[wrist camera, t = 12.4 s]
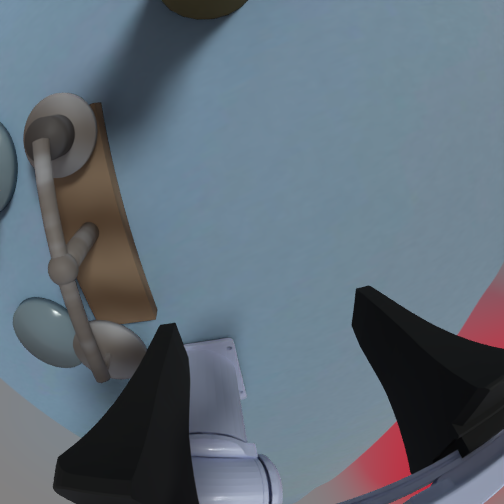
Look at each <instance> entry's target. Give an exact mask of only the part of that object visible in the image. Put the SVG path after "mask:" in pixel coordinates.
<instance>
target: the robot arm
mask: <svg viewBox="0 0 504 504" xmlns="http://www.w3.org/2000/svg"><path fill="white" fill-rule="evenodd" d="M352 328H353V330H354V333H355V335H356V338H357V340H358V342H359V345H360V347H361V349H362V350H363V352H364V354H365V356H366V357H367V359H368V361H369V363H370V364H371V366H372V368H373V370H374V371H375V373H376V375H377V377H378V378H379V380H380V382H381V384H382V386H383V388H384V390H385V392H386V394H387V396H388V399H389V401H390V404H391V406H392V409H393V411H394V414H395V417H396V420H397V423H398V425H399V428H400V432H401V435H402V439H403V442H404V445H405V449H406V454H407V457H408V462H409V467H410V472H411V474H412V475H410V476H408V477H405V478H403V479H401V480H399V481H397V482H394V483H392V484H390V485H387V486H385V487H382V488H380V489H377V490H375V491H372V492H370V493H367V494H364V495H362V496H359V497H356V498H353V499H350V500H347V501H344V502H341V503H337V504H389V503H391V502H394V501H396V500H398V499H400V498H402V497H405V496H407V495H409V494H411V493H413V492H415V491H417V490H419V489H421V488H423V487H425V486H427V485H428V484H430V483H432V482H433V483H432V485H431V487H429V488H427V489H426V490H424V491H422V492H420V493H418V494H416V495H415V496H413V497H411V498H410V499H409V500H408V501H406V502H405V503H403V504H483V503H484V502H485V501H487V500H488V499H489V498H491V497H492V496H493V495H494V494H495V493H496V492H497V491H499V490H500V489H501V488H502V487H503V486H504V349H502V348H497V347H492V346H488V345H484V344H480V343H477V342H474V341H471V340H468V339H465V338H462V337H460V336H457V335H455V334H452V333H450V332H448V331H446V330H443V329H441V328H439V327H437V326H435V325H433V324H431V323H429V322H427V321H426V320H424V319H422V318H420V317H418V316H417V315H415V314H413V313H412V312H410V311H408V310H407V309H405V308H404V307H402V306H401V305H399V304H397V303H396V302H394V301H393V300H391V299H390V298H388V297H387V296H385V295H384V294H382V293H381V292H379V291H377V290H376V289H374V288H373V287H371V286H365V287H361V288H357V289H356V294H355V303H354V311H353V319H352ZM229 346H231V347H229ZM246 397H247V395H246V391H245V387H244V383H243V378H242V374H241V370H240V366H239V362H238V357H237V353H236V349H235V344H234V340H233V339H232V338H223V339H217V340H211V341H204V342H197V343H191V344H183V342H182V339H181V336H180V334H179V331H178V328H177V326H176V323H171V324H163V325H160V326H159V328H158V330H157V332H156V334H155V336H154V338H153V340H152V342H151V344H150V346H149V348H148V349H147V351H146V353H145V355H144V357H143V359H142V360H141V362H140V364H139V366H138V368H137V369H136V371H135V373H134V374H133V376H132V378H131V379H130V381H129V382H128V384H127V386H126V387H125V389H124V390H123V391H122V393H121V394H120V396H119V397H118V398H117V400H116V401H115V402H114V404H113V405H112V406H111V407H110V409H109V410H108V411H107V412H106V414H105V415H104V416H103V417H102V418H101V419H100V420H99V422H98V423H97V424H96V425H95V426H94V427H93V428H92V429H91V430H90V431H89V432H88V433H87V434H86V435H84V436H83V437H82V438H81V439H80V440H79V441H78V442H77V443H75V444H74V445H73V446H72V447H70V448H69V449H68V450H67V451H65V452H64V453H63V454H62V455H60V456H59V457H58V459H57V464H56V469H55V476H54V483H53V489H54V491H55V492H56V493H57V494H59V495H61V496H63V497H64V498H66V499H68V500H70V501H72V502H74V503H76V504H282V500H283V489H282V482H281V478H280V475H279V472H278V470H277V468H276V466H275V465H274V464H273V463H272V462H271V460H270V459H269V458H268V457H267V456H265V455H263V454H257V449H256V444H255V443H247V437H246V431H245V425H244V419H243V413H242V407H241V401H240V400H242V399H245V398H246Z"/></svg>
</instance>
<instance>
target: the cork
mask: <svg viewBox="0 0 504 504" xmlns="http://www.w3.org/2000/svg"><path fill="white" fill-rule="evenodd" d="M247 1H248V0H162V2H163V3H164V4H165V5H166V6H167V7H168V8H169V9H170V10H171V11H173V12H175V13H177V14H179V15H181V16H183V17H188V18H193V19H214V18H218V17H222V16H225V15H229V14H230V13H232V12H234V11H236V10H237V9H239V8H241V7H242V6H243V5H244V4H245V3H246V2H247Z"/></svg>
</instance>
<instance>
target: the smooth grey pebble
mask: <svg viewBox="0 0 504 504" xmlns="http://www.w3.org/2000/svg"><path fill="white" fill-rule="evenodd" d="M13 327H14V330H15V333H16V335H17V337H18V339H19V340H20V342H21V343H22V345H23V346H24V347H25V348H26V349H27V350H28V351H29V352H30V353H31V354H32V355H34V356H35V357H36V358H38V359H40V360H41V361H43V362H45V363H47V364H50V365H52V366H56V367H61V368H71V367H75V366H78V365H79V364H81V363H82V362H81V361H80V360H79V358H78V357H77V355H76V354H75V351H74V348H73V339H74V336H75V334H76V333H75V330H74V327H73V325H72V322H71V319H70V317H69V314H68V311H67V309H66V308H64V307H63V306H61V305H59V304H58V303H56V302H54V301H51V300H48V299H45V298H40V297H32V298H28V299H26V300H24V301H23V302H22V303H21V304H20V305H19V307H18V308H17V310H16V311H15V313H14V316H13Z"/></svg>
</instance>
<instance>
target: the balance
mask: <svg viewBox="0 0 504 504" xmlns="http://www.w3.org/2000/svg"><path fill="white" fill-rule="evenodd" d="M23 139H24V148H25V152H26V155H27V158H28V160H29V162H30V163H31V165H32V166H33V167H34V168H35V175H36V182H37V189H38V196H39V202H40V208H41V213H42V219H43V224H44V228H45V233H46V238H47V242H48V246H49V250H50V254H51V260H50V261H49V264H48V273H49V276H50V278H51V280H52V281H53V282H54V283H56V284H57V285H59V287H60V290H61V293H62V296H63V299H64V302H65V305H66V308H67V311H68V314H69V317H70V319H71V322H72V325H73V327H74V330H75V333H76V334H75V336H74V339H73V348H74V351H75V354H76V355H77V357H78V358H79V360H80V361H81V362H82V363H83V364H84V365H85V366H86V367H87V368H89V369H90V370H91V371H92V373H93V375H94V377H95V379H96V381H97V382H98V383H103V382H106V381H108V380H109V379H110V378H113V379H129V378H132V376H133V374H134V373H135V371H136V369H137V368H138V366H139V364H140V362H141V360H142V359H143V357H144V355H145V353H146V351H147V348H146V346H145V344H144V342H143V341H142V340H141V338H140V337H139V336H138V335H136V334H135V333H134V332H133V331H131V330H130V329H128V328H126V327H125V326H123V325H120V324H125V323H133V322H141V321H148V320H155V319H156V315H157V307H156V305H155V302H154V299H153V296H152V294H151V291H150V288H149V285H148V282H147V280H146V277H145V274H144V271H143V268H142V265H141V262H140V259H139V256H138V253H137V249H136V246H135V243H134V240H133V236H132V233H131V230H130V226H129V223H128V220H127V216H126V212H125V209H124V205H123V201H122V198H121V194H120V190H119V186H118V182H117V178H116V174H115V170H114V165H113V161H112V157H111V152H110V147H109V143H108V138H107V133H106V127H105V122H104V117H103V111H102V105H101V103H93V104H90V105H89V104H88V103H87V102H86V101H85V100H84V99H83V98H81V97H79V96H77V95H75V94H71V93H57V94H53V95H50V96H48V97H46V98H44V99H43V100H41V101H40V102H39V103H38V104H37V105H36V106H35V107H34V109H33V110H32V111H31V113H30V115H29V117H28V119H27V122H26V125H25V129H24V138H23ZM76 278H77V280H78V282H79V285H80V287H81V289H82V291H83V293H84V295H85V298H86V300H87V302H88V304H89V306H90V308H91V310H92V312H93V314H94V316H95V318H96V320H93V321H88V318H87V315H86V313H85V310H84V307H83V304H82V301H81V297H80V294H79V291H78V288H77V284H76V281H75V279H76Z"/></svg>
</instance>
